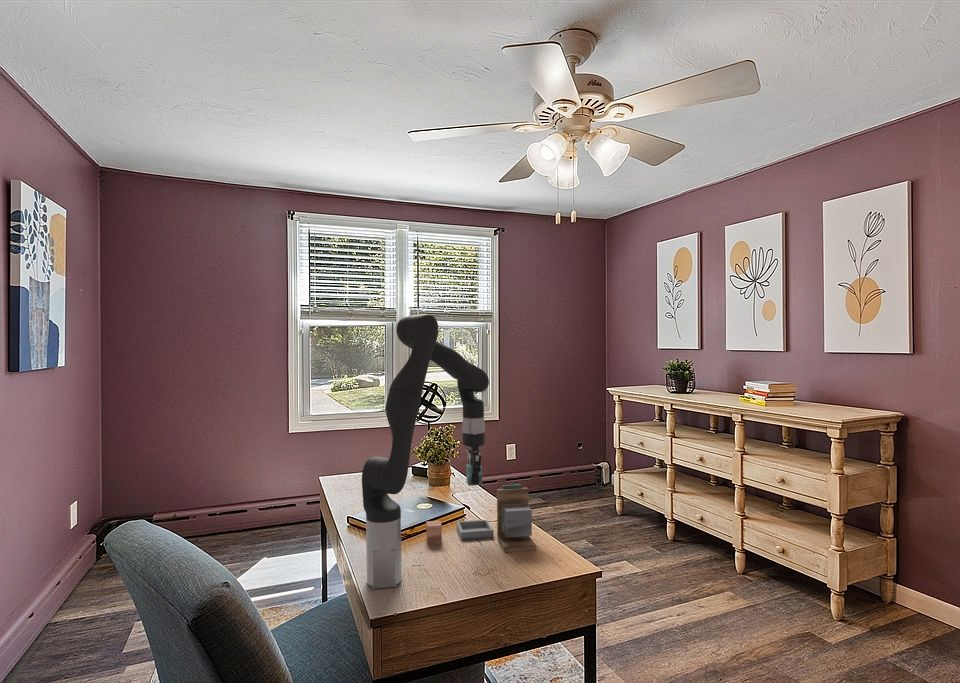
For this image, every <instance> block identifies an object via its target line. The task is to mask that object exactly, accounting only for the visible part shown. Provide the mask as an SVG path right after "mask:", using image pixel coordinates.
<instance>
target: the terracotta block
mask: <svg viewBox="0 0 960 683" xmlns="http://www.w3.org/2000/svg"><path fill="white" fill-rule="evenodd" d="M425 523H426V524H425V528H426V530H425V531H426V532H425V536H426V540H425V541H426V545H427V546H431V545H432V546H433V544H435V545H443V539H442V538H443V535H442V533H443V532H442V530H443V528H442V527H443V525H442V522H441V520H431V521H430V520H429V521H426V522H425Z"/></svg>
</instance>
